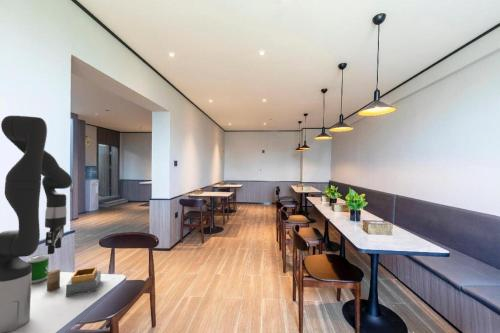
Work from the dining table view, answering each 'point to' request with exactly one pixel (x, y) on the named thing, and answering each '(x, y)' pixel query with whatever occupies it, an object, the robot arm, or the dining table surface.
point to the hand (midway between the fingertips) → (54, 250)
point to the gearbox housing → (83, 281)
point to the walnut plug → (53, 280)
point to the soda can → (39, 267)
